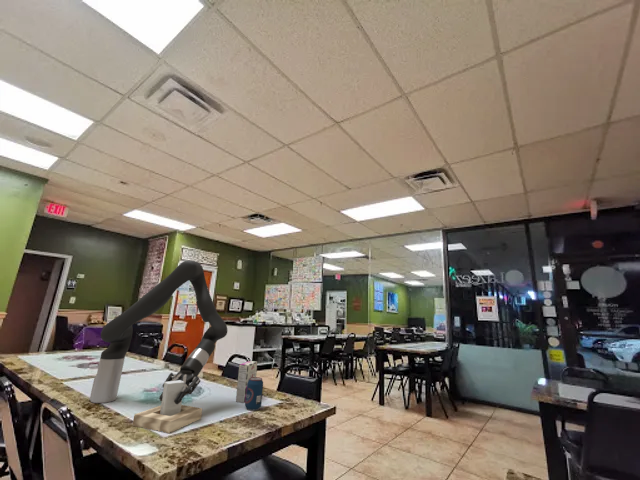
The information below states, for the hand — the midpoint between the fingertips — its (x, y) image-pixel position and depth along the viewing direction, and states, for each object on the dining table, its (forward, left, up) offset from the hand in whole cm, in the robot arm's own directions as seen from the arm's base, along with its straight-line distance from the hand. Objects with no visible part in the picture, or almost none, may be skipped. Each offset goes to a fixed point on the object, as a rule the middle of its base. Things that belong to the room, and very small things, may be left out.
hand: (168, 401), depth 108 cm
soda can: (+19, +30, -7) cm, 36 cm away
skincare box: (0, +2, -6) cm, 6 cm away
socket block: (0, +2, -7) cm, 7 cm away
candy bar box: (+9, +40, -7) cm, 41 cm away
